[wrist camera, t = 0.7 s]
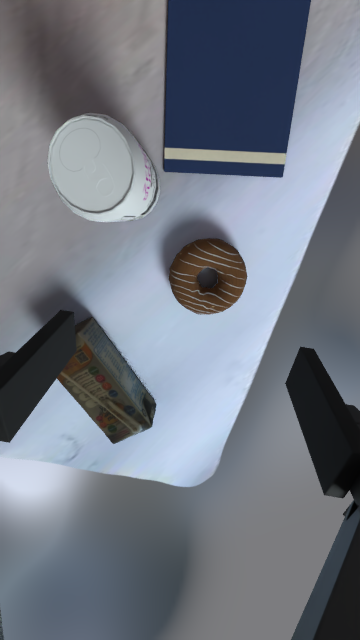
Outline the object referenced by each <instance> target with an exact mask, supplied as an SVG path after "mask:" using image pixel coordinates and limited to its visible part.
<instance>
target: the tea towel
mask: <svg viewBox="0 0 360 640" xmlns="http://www.w3.org/2000/svg"><path fill="white" fill-rule="evenodd" d="M310 3H311V0H168V31H167V72H166V112H165V153H164V172H181V173H202V174H222V175H242V176H263V177H283V172H284V165H285V159H286V153H287V147H288V140H289V134H290V128H291V122H292V115H293V109H294V103H295V97H296V90H297V84H298V78H299V72H300V65H301V59H302V53H303V47H304V40H305V34H306V28H307V22H308V15H309V9H310Z"/></svg>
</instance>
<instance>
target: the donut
mask: <svg viewBox="0 0 360 640" xmlns="http://www.w3.org/2000/svg"><path fill="white" fill-rule="evenodd" d="M205 268H212V269H214V270H216V272H217V275H218V278H217V279H218V283H217V284H216V285H215V286H214V287H213V288H207V287H202V286H201V285H200V284H199V281H198V280H197V275H198V274H199V273H200V272H201V271H202V270H203V269H205ZM246 279H247V273H246V267H245V263H244V261H243V259H242V257H241V256H240V254H239V252H238V250H237V249H236V248H234V247H233V246H231V245H230V244H228V243H226V242H224V241H223V240H220V239H210V238H209V239H200V240H196V241H194V242H192V243H190V244H188V245H186V246H185V247H183V249H182V250H181V251H180V252H179V253H178V254H177V255H176V257H175V259H174V261H173V263H172V265H171V267H170V274H169V281H170V285H171V289H172V292H173V294H174V296H175V298H176V299H177V301H178V302H179V303H180V304H181V305H182V306H184V307H185V308H187V309H188V310H190V311H192V312H194V313H196V314H215V313H219V312H223V311H224V310H226V309H228V308H230V307H231V306H232V305H233V304H234V303H236V301H237V300H238V299H239V298H240V296H241V294H242V292H243V290H244V287H245V284H246Z"/></svg>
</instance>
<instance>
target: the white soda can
mask: <svg viewBox="0 0 360 640" xmlns="http://www.w3.org/2000/svg"><path fill="white" fill-rule="evenodd" d="M47 163H48V168H49V173H50V178H51V181H52V183H53V186H54V187H55V189H56V191H57V193H58V195H59V197H60V199H61V200H62V201H63V202H64V203H65V204H66V205H67V206H68V207H69V208H70V209H71V210H72V211H73V212H74V213H75V214H77V215H79V216H81V217H83V218H85V219H87V220H90V221H98V222H119V221H133V220H137V219H141V218H143V217H145V216H146V215H147V214H149V213H150V212H151V211H152V210H153V208H154V207H155V205H156V204H157V202H158V198H159V194H160V180H159V176H158V174H157V171H156V169H155V166H154V165H153V163H152V162H151V160H150V159H149V158H148V156H147V155H146V153H145V152H144V150H143V149H142V147H141V146H140V144H139V143H138V141H137V140H136V139H135V137H134V136H133V135H132V134H131V133H130V132H129V131H128V129H127V128H126V127H125V126H124V125H123V124H122V123H120V122H118V121H116V120H115V119H113V118H111V117H109V116H108V115H104V114H95V113H86V114H83V115H80V116H76V117H73V118H71V119H70V120H68V121H67V122H65V123H64V124H63V125H62V126H61V127H60V128H59V129H58V130H57V131H56V132H55V135H54V137H53V139H52V141H51V143H50V145H49V152H48V162H47Z"/></svg>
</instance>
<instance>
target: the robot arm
mask: <svg viewBox="0 0 360 640" xmlns="http://www.w3.org/2000/svg"><path fill="white" fill-rule="evenodd" d="M76 351H77V347H76V335H75V323H74V312H70V311H64V310H60V311H59V312H58V313H57V314H56V315H55V316H54V317H53V318H52V319H51V320H50V321H49V322H48V323H47V324H45V325H44V326H43V327H42V328H41V329H40V330H39V331H38V332H37V333H36V334H35V335H34V336H33V337H32V338H31V339H30V340H29V341H28V342H27V343H25V344H24V345H23V346H22V347H21V348H20V349H19V350H18V351H17V352H16V353H14V352H7V353H5V354H3V355H1V356H0V441H3V442H9V443H10V441H11V440H12V438H13V437H14V436H15V434H16V433H17V432H18V430H19V429H20V427H21V426H22V425H23V423H24V422H25V421H26V419H27V418H28V417H29V415H30V414H31V412H32V411H33V410H34V408H35V407H36V406H37V404H38V403H39V401H40V400H41V399H42V397H43V396H44V395H45V393H46V392H47V391H48V389H49V388H50V386H51V385H52V384H53V382H54V381H55V380H56V378H57V377H58V375H59V374H60V373H61V371H62V370H63V369H64V367H65V366H66V365H67V363H68V362H69V360H70V359H71V358H72V356H73V355H74V354H75V352H76ZM285 384H286V386H287V389H288V392H289V395H290V398H291V401H292V404H293V407H294V410H295V412H296V415H297V418H298V421H299V424H300V427H301V430H302V432H303V435H304V438H305V441H306V444H307V447H308V450H309V453H310V456H311V458H312V461H313V464H314V467H315V469H316V473H317V476H318V479H319V481H320V484H321V487H322V490H323V493H324V495H327V496H333V497H338V498H344V497H345V495H346V494H347V493H348V491H349V490H350V492H351V494H352V496H353V498H354V501H353V502H352V503H351V505H350V506H349V507H348V508H347V509H346V511H345V512H344V513H343V515H344V516H345V518H344V520H343V523H342V525H341V527H340V530H339V532H338V534H337V536H336V539H335V541H334V543H333V545H332V548H331V550H330V552H329V555H328V557H327V559H326V561H325V564H324V566H323V568H322V570H321V573H320V575H319V577H318V580H317V582H316V584H315V587H314V589H313V591H312V593H311V595H310V598H309V600H308V602H307V605H306V607H305V609H304V611H303V614H302V616H301V618H300V621H299V623H298V625H297V627H296V629H295V632H294V634H293V637H292V639H291V640H360V411H359V410H358V409H357V408H356V407H355V406H353V405H347V404H345V403H344V401H343V399H342V397H341V396H340V394H339V392H338V390H337V389H336V387H335V385H334V383H333V382H332V380H331V378H330V376H329V375H328V373H327V371H326V369H325V368H324V366H323V364H322V362H321V361H320V359H319V357H318V355H317V354H316V352H315V350H314V349H311V348H305V347H300V349H299V351H298V354H297V356H296V359H295V361H294V364H293V366H292V368H291V371H290V373H289V376H288V378H287V381H286V383H285ZM0 640H4V637H3V630H2V620H1V610H0Z"/></svg>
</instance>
